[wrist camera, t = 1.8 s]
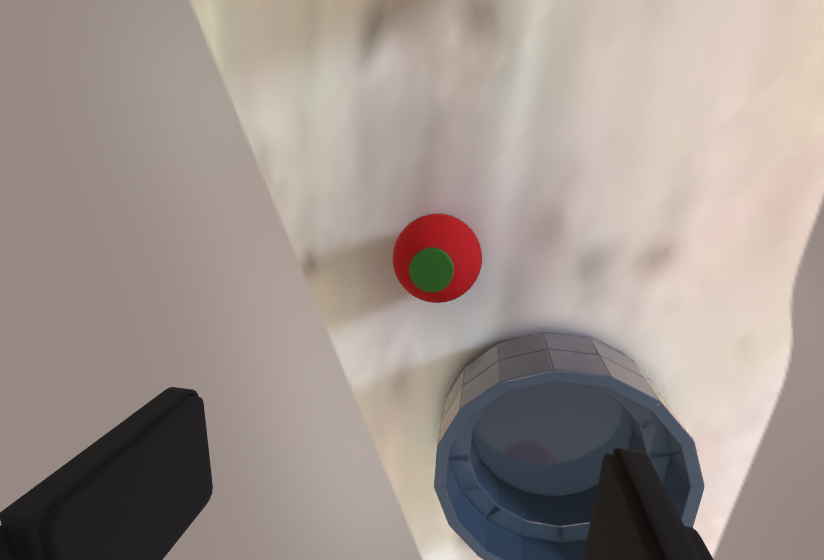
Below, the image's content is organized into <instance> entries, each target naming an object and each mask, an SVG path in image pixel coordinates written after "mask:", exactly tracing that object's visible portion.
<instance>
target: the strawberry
mask: <svg viewBox="0 0 824 560" xmlns="http://www.w3.org/2000/svg"><path fill="white" fill-rule="evenodd" d="M481 263H482V254H481V248H480V244H479V242H478V239H477V237H476V235H475V234H474V232H473V231H472V230H471V229H470V228H469V227H468V226H467V225H466V224H465V223H464V222H462V221H461V220H459V219H457V218H455V217H453V216H449V215H445V214H430V215H426V216H423V217H420V218H418V219H416V220H414V221H413V222H411V223H410V224H409V225H407V226H406V227H405V229H404V230H403V231H402V232H401V234H400V235H399V237H398V239H397V241H396V244H395V247H394V252H393V265H394V270H395V273H396V276H397V278H398V280H399V281H400V283H401V284H402V286H403V287H404V288H405V289H406V290H407V291H408V292H409V293H410V294H412V295H413V296H415V297H417V298H419V299H421V300H424V301H427V302H435V303H440V302H447V301H451V300H454V299H456V298H458V297H460V296H461V295H463V294H464V293H465V292H467V291H468V290H469V289H470V288H471V286H472V285H473V284H474V282H475V281H476V279H477V277H478V275H479V272H480V269H481Z"/></svg>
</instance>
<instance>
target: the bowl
mask: <svg viewBox="0 0 824 560" xmlns="http://www.w3.org/2000/svg"><path fill="white" fill-rule="evenodd" d="M615 448H623V449H630V450H637V451H644V452H646V454H647V455H648V457H649V458H650V460H651V462H652V464H653V466H654V468H655V470H656V472H657V474H658V476H659V478H660V480H661V482H662V483H663V485H664V487H665V489H666V491H667V493H668V495H669V497H670V499H671V501H672V503H673V505H674V506H675V508H676V510H677V512H678V514H679V516H680V518H681V520H682V522H683V524H684V526H688V527H692V528H693V525H694V521H695V518H696V515H697V511H698V508H699V504H700V501H701V497H702V494H703V491H704V481H703V477H702V472H701V468H700V464H699V460H698V455H697V451H696V447H695V442H694V441H693V439H692V437H691V436H690V434H689V433H688V432H687V430H686V429H685V427H684V426H683V425H682V423H681V422H680V421H679V419H678V418H677V416H676V415H675V414H674V412H673V411H672V409H671V408H670V407H669V405H668V404H667V403H666V401H665V400H664V398H663V397H662V396H661V394H660V393H659V391H658V390H657V389H656V388H655V386H654V385H653V384H652V383H651V382H650V380H649V379H648V378H647V377H646V376H645V375H644V373H643V372H642V371H641V370H640V369H639V367H638V366H637V365H636V364H635V363H634V361H633V360H632V359H630V357H628V356H626V355H624V354H622V353H620V352H618V351H616V350H614V349H612V348H610V347H608V346H606V345H604V344H602V343H600V342H598V341H596V340H594V339H592V338H590V337H582V336H573V335H564V334H555V333H546V332H543V333H542V332H540V333H536V334H532V335H528V336H524V337H520V338H516V339H512V340H508V341H504V342H500V343H499V344H496V345H495V346H494V347H492V348H491V349H489V350H488V351H487V352H485V353H484V354H482V355H481V356H480V357H478V358H477V359H475V360H474V361H473V362H471V363H470V364H468V365H467V366H466V367H465V368H464V369H463V371H462V372H461V374H460V376H459V377H458V379H457V381H456V382H455V384H454V386H453V388H452V389H451V391H450V393H449V394H448V396H447V398H446V400H445V404H444V410H443V416H442V422H441V427H440V433H439V439H438V445H437V454H436V467H435V480H434V488H435V491H436V493H437V496H438V498H439V501H440V503H441V506H442V509H443V511H444V514H445V516H446V519H447V521H448V524H449V525H450V527H451V528H452V529H453V530H454V531H455V532H456V533H457V534H458V535H459V536H460V537H461V538H462V539H463V540H464V542H465V543H466V544H467V545H468V546H469V547H470V548H471V549H472V550H473V551H474V552H475V553H476V554H477V555H478V556H479V557H480V558H482V559H484V560H584V551H585V546H586V541H587V536H588V531H589V526H590V521H591V516H592V511H593V506H594V501H595V496H596V491H597V486H598V481H599V476H600V471H601V466H602V461H603V457H604V455H605V454H606V453H607V454H612V453H613V451H614V449H615Z"/></svg>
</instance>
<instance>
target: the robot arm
mask: <svg viewBox="0 0 824 560" xmlns="http://www.w3.org/2000/svg"><path fill="white" fill-rule="evenodd" d="M212 489H213V485H212V476H211V468H210V458H209V448H208V440H207V430H206V421H205V413H204V403H203V400H202V398H201V397H198V394H197V392H196V391H194V390H191V389H184V388H176V387H170V388H168V389H166V390H165V391H163V392H162V393H161V394H159V395H158V396H157V397H155V398H154V399H153V400H151V401H150V402H148V403H147V404H146V405H145V406H143V407H142V408H140V409H139V410H138V411H136V412H135V413H134V414H132V415H131V416H130V417H128V418H127V419H126V420H124V421H123V422H122V423H120V424H119V425H118V426H116V427H115V428H114V429H112V430H111V431H109V432H108V433H107V434H105V435H104V436H103V437H101V438H100V439H99V440H97V441H96V442H95V443H93V444H92V445H91V446H89V447H88V448H87V449H85V450H84V451H82V452H81V453H80V454H78V455H77V456H76V457H74V458H73V459H72V460H70V461H69V462H68V463H66V464H65V465H64V466H62V467H61V468H60V469H58V470H57V471H55V472H54V473H53V474H51V475H50V476H49V477H47V478H46V479H45V480H43V481H42V482H41V483H40V484H38V485H37V486H35V487H34V488H33V489H31V490H30V491H29V492H28V493H26V494H25V495H23V496H22V497H21V498H19V499H18V500H17V501H15V502H14V503H12V504H11V505H10V506H8V507H7V508H6V509H4V510H3V511H2V512H0V521H1V524H2V525H1V526H0V560H163V558H164V557H165V556H166V554H167V553H168V552H169V551H170V550H171V548H172V547H173V546H174V544H175V543H176V542H177V541H178V540H179V538H180V537H181V536H182V534H183V533H184V532H185V530H186V529H187V528H188V527H189V526H190V524H191V523H192V522H193V521H194V519H195V518H196V517H197V516H198V514H199V513H200V512H201V511H202V509H203V508H204V507H205V506H206V504H207V503H208V501H209V499H210V497H211V494H212ZM584 560H713V558H712V556H711V555H710V553H709V551H708V549H707V547H706V545H705V544H704V542H703V540H702V538H701V537H700V535H699V534H698V532H697V531H696V530H695V529H693V528H692V527H688V526H684V524H683V522H682V520H681V518H680V516H679V514H678V512H677V510H676V508H675V506H674V505H673V503H672V501H671V499H670V497H669V495H668V493H667V491H666V489H665V487H664V485H663V483H662V482H661V480H660V478H659V476H658V474H657V472H656V470H655V468H654V466H653V464H652V462H651V460H650V458H649V457H648V455H647V454H646V452H644V451H637V450H630V449H623V448H615V449H614V451H613V453H612V454H607V453H606V454H605V455H604V457H603V461H602V466H601V471H600V476H599V481H598V486H597V491H596V496H595V501H594V506H593V511H592V516H591V521H590V526H589V531H588V536H587V541H586V546H585V551H584Z"/></svg>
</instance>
